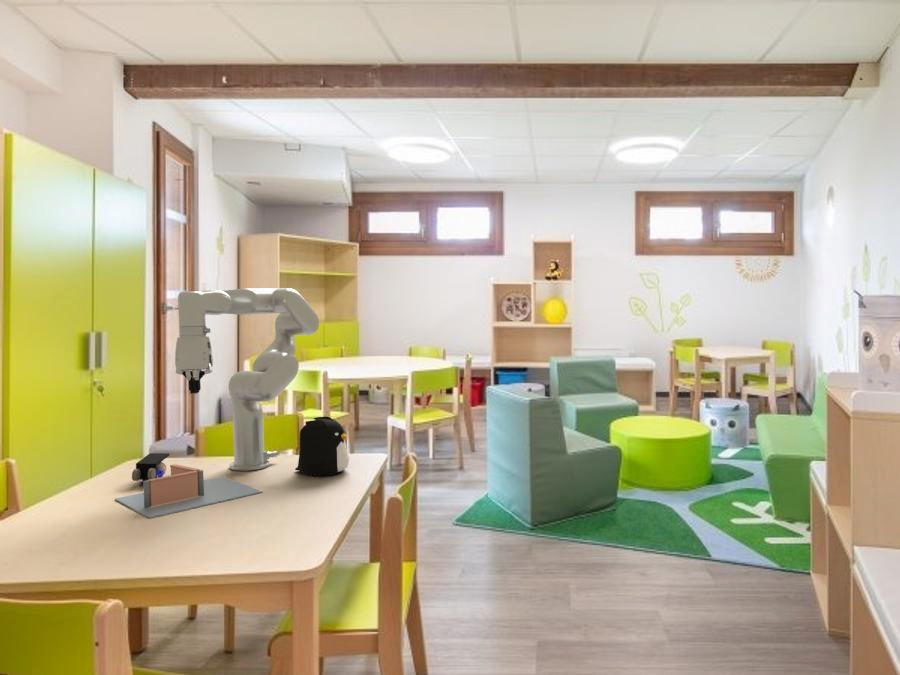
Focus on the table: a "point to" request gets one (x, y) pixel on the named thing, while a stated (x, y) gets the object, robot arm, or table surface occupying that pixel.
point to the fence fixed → (173, 488)
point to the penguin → (322, 448)
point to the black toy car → (150, 467)
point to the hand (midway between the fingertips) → (194, 392)
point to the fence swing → (181, 469)
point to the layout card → (213, 493)
